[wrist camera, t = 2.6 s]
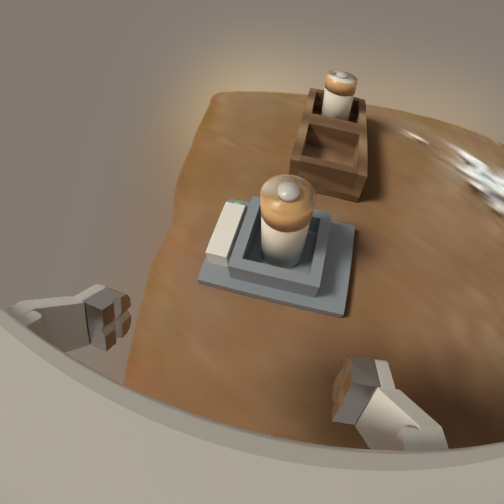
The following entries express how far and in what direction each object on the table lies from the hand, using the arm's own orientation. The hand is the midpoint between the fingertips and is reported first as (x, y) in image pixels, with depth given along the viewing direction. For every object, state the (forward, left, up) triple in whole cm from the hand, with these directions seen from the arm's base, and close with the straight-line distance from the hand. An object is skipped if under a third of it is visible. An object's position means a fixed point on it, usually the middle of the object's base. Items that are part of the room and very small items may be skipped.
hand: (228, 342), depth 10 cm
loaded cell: (-22, -27, -15) cm, 38 cm away
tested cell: (-7, -10, -15) cm, 19 cm away
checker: (-7, -10, -16) cm, 20 cm away
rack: (-20, -23, -16) cm, 34 cm away
